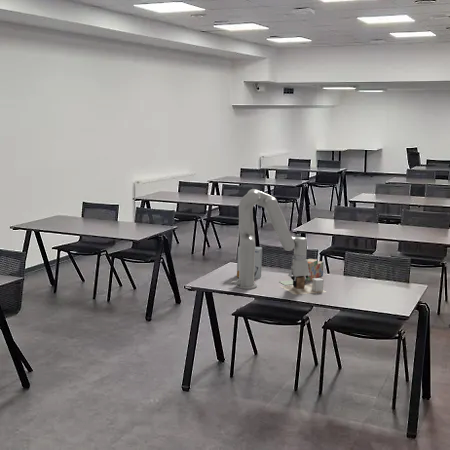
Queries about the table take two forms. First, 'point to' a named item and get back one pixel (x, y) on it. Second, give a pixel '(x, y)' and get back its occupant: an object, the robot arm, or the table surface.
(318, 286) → the pale grey block
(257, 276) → the hard drive box
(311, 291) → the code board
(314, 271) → the stack of blocks
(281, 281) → the mat
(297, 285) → the walnut block
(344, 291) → the table surface
